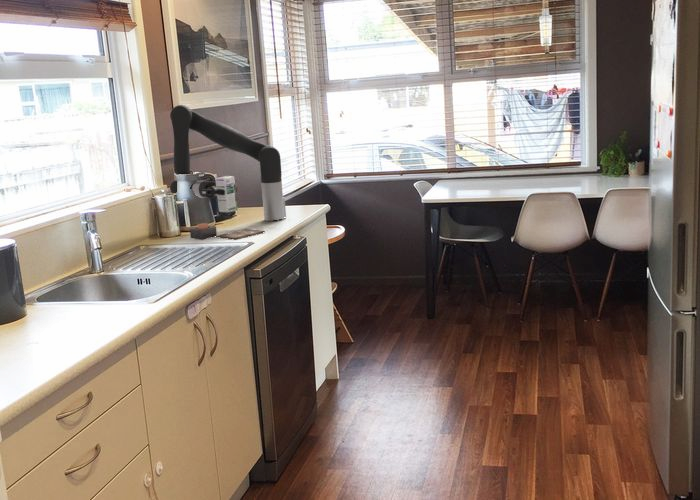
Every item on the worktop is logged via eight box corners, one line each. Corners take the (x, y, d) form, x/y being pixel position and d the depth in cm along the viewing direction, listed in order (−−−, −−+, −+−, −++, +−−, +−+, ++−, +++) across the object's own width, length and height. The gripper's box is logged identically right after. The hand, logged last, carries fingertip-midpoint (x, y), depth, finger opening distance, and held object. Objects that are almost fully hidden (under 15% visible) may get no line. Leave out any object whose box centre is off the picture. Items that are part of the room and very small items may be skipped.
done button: (204, 230, 320) (203, 222, 319) (210, 230, 317) (210, 223, 316) (195, 231, 316) (194, 224, 316) (202, 232, 313) (201, 225, 313)
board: (245, 230, 327) (245, 228, 326) (264, 232, 319) (264, 230, 319) (216, 237, 315) (215, 235, 315) (235, 239, 307) (235, 237, 307)
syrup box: (228, 212, 318) (224, 177, 315) (218, 211, 322) (215, 177, 319) (238, 210, 323) (234, 176, 319) (228, 209, 326) (225, 175, 323)
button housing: (205, 234, 322) (204, 225, 321) (216, 236, 317) (216, 226, 316) (190, 238, 317) (189, 228, 316) (202, 239, 312) (201, 230, 311)
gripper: (190, 182, 324) (215, 184, 313) (217, 178, 334) (242, 180, 323) (192, 200, 325) (217, 202, 314) (219, 195, 336) (244, 197, 325)
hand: (230, 191), depth 319 cm, fingers closed on syrup box, 6 cm apart
